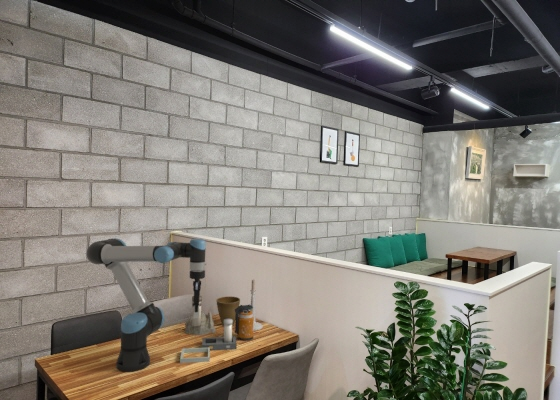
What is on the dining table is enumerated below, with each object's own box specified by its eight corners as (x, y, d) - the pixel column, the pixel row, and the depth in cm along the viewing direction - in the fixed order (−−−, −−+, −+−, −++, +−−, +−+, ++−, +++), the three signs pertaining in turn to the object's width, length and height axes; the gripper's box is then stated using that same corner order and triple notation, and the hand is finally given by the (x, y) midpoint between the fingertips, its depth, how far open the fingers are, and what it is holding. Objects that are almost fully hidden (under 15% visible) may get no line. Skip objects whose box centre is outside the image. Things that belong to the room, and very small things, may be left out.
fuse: (223, 347, 202) (223, 321, 202) (223, 344, 207) (223, 318, 207) (232, 347, 203) (232, 321, 203) (231, 343, 208) (232, 318, 208)
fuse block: (201, 352, 198) (202, 345, 198) (202, 345, 208) (202, 337, 208) (236, 351, 201) (236, 343, 201) (235, 343, 211) (235, 336, 211)
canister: (255, 341, 215) (256, 306, 214) (236, 343, 210) (237, 308, 210) (250, 335, 223) (251, 302, 222) (232, 338, 219) (233, 303, 218)
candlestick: (248, 332, 229) (249, 282, 228) (238, 325, 239) (239, 278, 239) (266, 328, 236) (267, 280, 235) (256, 322, 246) (257, 276, 246)
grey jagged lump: (219, 331, 228) (218, 306, 228) (196, 340, 216) (195, 313, 216) (204, 326, 238) (202, 302, 238) (181, 334, 226) (180, 309, 226)
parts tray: (180, 365, 183) (180, 358, 183) (182, 354, 195) (182, 348, 195) (209, 363, 186) (209, 357, 186) (209, 353, 198) (209, 347, 198)
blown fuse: (191, 326, 187) (191, 298, 187) (191, 323, 192) (192, 295, 192) (201, 326, 188) (201, 298, 188) (201, 322, 193) (202, 295, 193)
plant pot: (231, 319, 251) (231, 295, 251) (244, 325, 240) (244, 300, 240) (211, 323, 242) (212, 298, 242) (223, 330, 230) (224, 304, 230)
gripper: (204, 273, 182) (203, 322, 182) (205, 266, 199) (204, 310, 199) (188, 273, 180) (187, 322, 181) (190, 266, 198) (189, 311, 198)
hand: (196, 316), depth 190 cm, fingers closed on blown fuse, 4 cm apart
